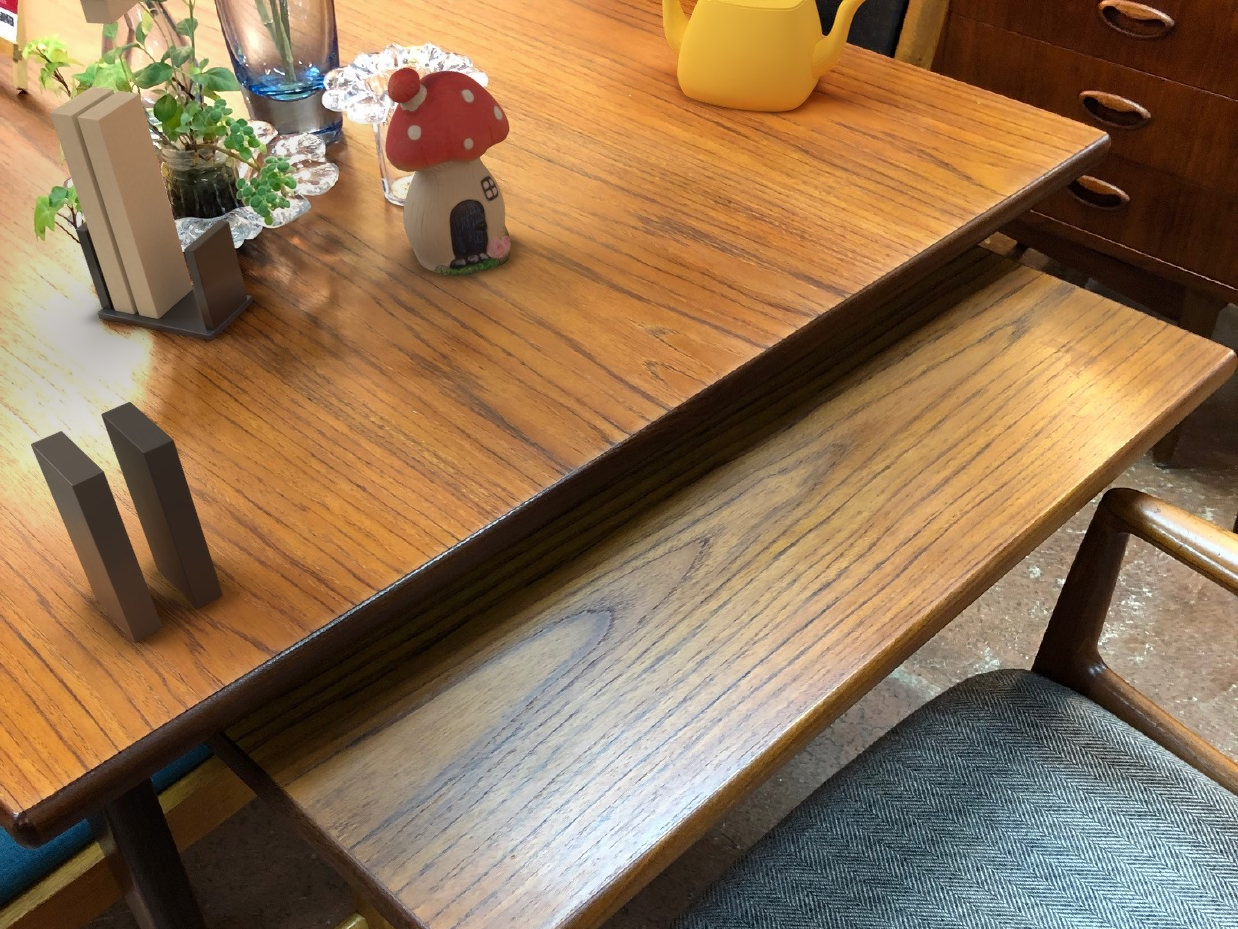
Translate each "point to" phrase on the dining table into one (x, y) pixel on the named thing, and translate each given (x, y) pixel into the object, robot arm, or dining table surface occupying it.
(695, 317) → the dining table surface
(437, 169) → the decorative ornament
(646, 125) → the dining table surface
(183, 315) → the book rack
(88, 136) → the shelved white books
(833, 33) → the teapot
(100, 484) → the pair of brown blocks
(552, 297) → the dining table surface
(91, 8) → the white book
